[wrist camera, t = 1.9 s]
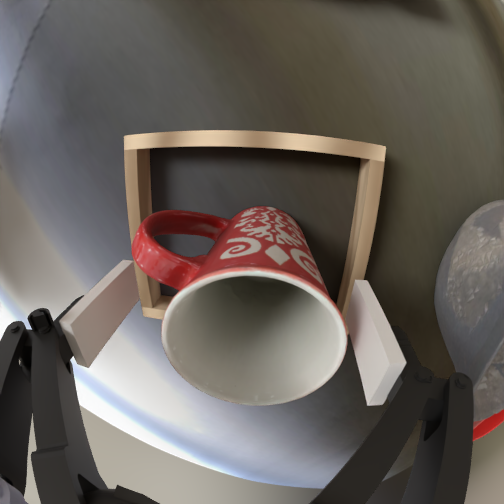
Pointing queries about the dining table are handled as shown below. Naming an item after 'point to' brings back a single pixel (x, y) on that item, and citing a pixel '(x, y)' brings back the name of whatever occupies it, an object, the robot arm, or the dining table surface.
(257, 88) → the dining table surface
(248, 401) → the mug
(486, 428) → the flower pot
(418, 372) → the robot arm
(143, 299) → the holder frame
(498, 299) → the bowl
